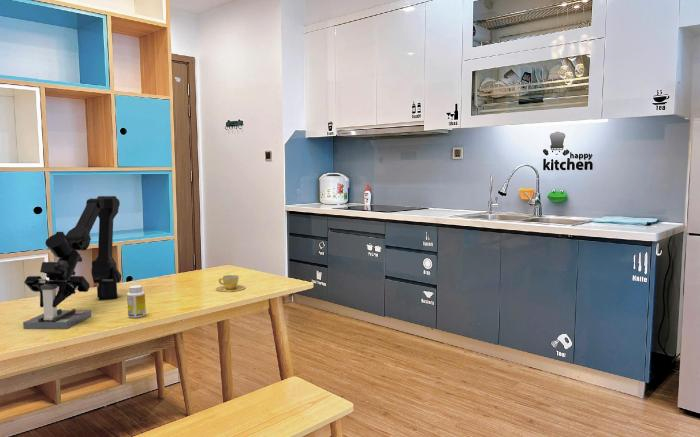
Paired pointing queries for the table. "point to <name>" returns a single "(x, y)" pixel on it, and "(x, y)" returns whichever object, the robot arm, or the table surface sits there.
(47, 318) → the handle
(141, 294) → the supplement bottle
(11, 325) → the table surface
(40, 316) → the box
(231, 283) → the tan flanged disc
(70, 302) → the table surface
